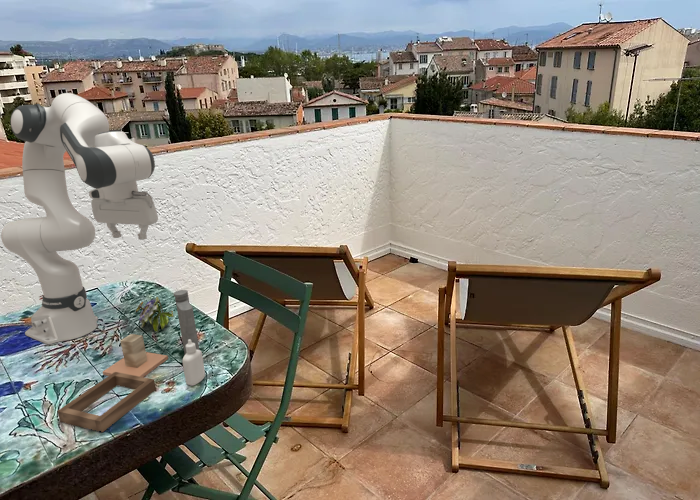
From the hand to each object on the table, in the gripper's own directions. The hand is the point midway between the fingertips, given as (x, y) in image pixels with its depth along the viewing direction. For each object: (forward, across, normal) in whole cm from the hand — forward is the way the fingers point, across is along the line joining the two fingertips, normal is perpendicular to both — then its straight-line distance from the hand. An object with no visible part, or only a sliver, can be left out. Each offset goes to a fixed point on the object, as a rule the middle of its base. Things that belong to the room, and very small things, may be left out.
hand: (129, 238), depth 132 cm
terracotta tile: (+34, -6, +12) cm, 37 cm away
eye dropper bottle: (+34, -27, +13) cm, 46 cm away
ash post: (+33, -6, +12) cm, 36 cm away
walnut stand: (+34, -13, +28) cm, 46 cm away
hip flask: (+34, -17, +2) cm, 38 cm away
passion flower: (+34, +7, -11) cm, 37 cm away
